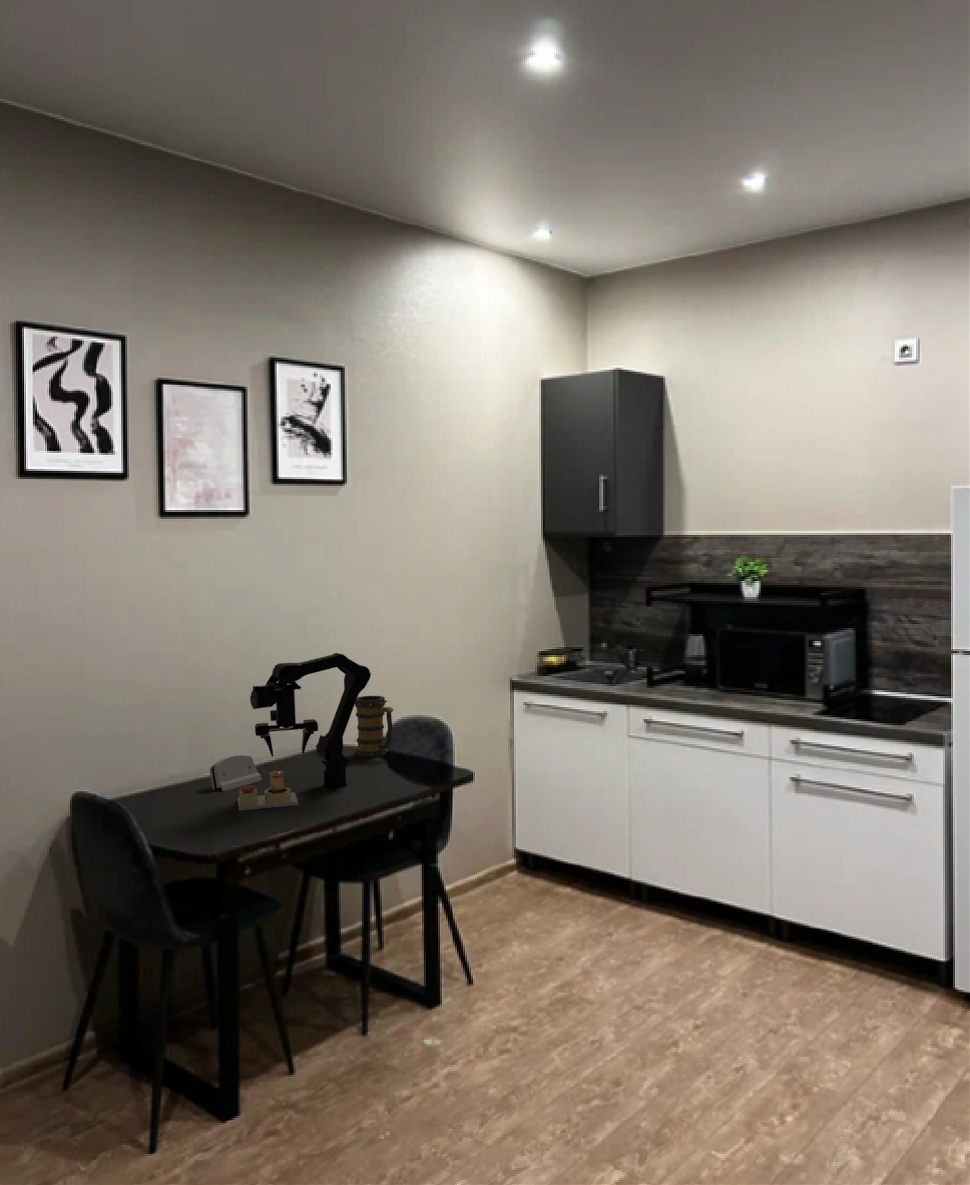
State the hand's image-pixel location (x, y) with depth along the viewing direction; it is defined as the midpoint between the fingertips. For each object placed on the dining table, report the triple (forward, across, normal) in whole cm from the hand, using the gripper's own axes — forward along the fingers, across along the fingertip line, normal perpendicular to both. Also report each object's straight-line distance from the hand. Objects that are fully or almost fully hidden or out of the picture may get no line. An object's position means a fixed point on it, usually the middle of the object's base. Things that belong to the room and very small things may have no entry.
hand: (287, 755), depth 317 cm
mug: (+12, -34, -42) cm, 55 cm away
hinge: (+12, +16, -18) cm, 26 cm away
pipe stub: (+11, +4, +9) cm, 15 cm away
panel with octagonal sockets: (+12, +7, +9) cm, 16 cm away
